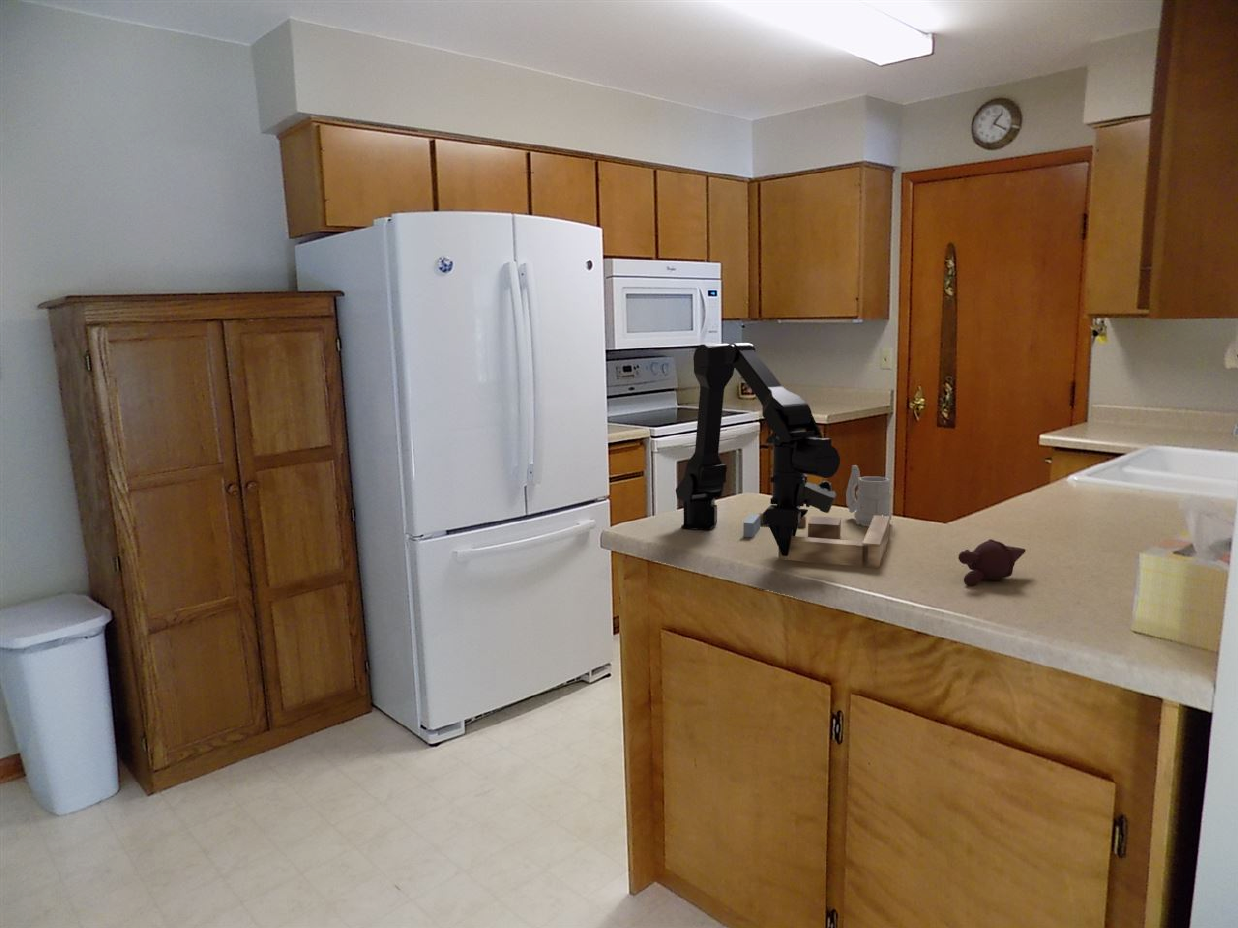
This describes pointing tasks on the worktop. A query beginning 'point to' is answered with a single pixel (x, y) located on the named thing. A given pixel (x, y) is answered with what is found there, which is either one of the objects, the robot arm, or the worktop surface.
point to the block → (824, 527)
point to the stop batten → (751, 525)
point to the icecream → (990, 561)
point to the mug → (867, 497)
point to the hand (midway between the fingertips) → (787, 551)
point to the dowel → (798, 526)
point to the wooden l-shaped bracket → (843, 547)
